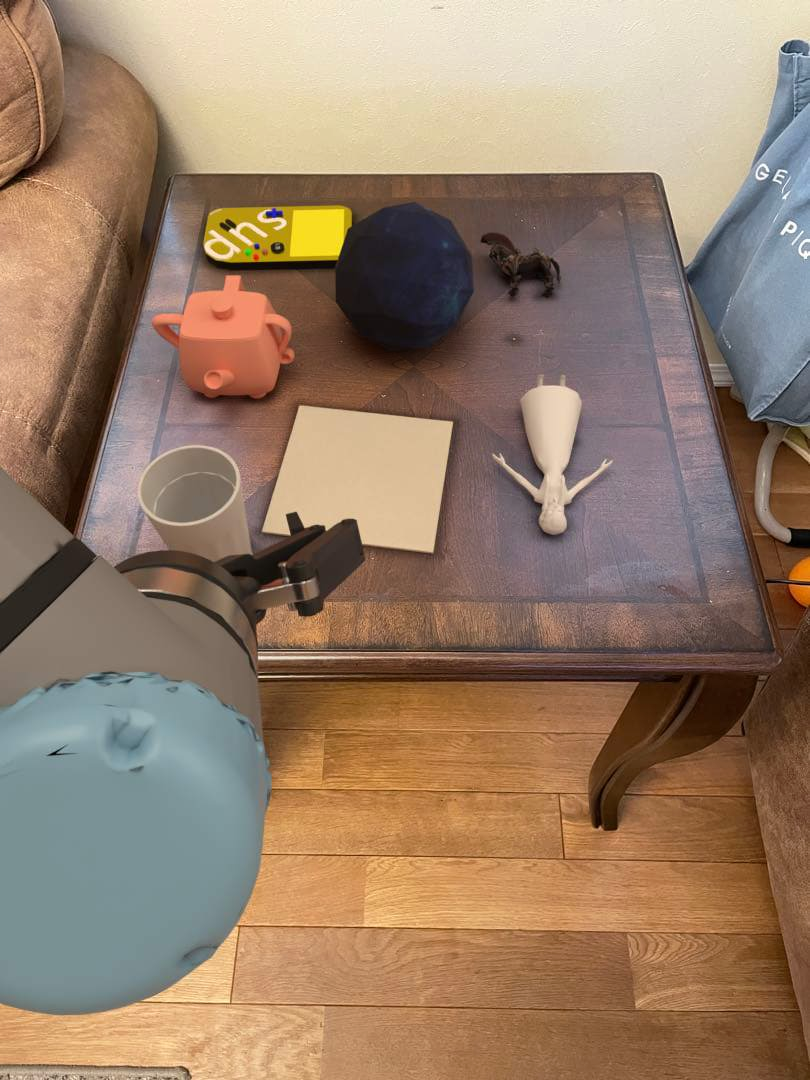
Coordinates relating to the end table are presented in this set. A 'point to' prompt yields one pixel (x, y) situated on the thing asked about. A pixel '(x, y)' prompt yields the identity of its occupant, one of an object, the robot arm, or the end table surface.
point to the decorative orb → (403, 277)
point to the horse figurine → (520, 262)
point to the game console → (276, 237)
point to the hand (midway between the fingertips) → (193, 557)
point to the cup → (196, 502)
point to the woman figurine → (551, 448)
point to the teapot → (228, 341)
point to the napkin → (364, 476)
